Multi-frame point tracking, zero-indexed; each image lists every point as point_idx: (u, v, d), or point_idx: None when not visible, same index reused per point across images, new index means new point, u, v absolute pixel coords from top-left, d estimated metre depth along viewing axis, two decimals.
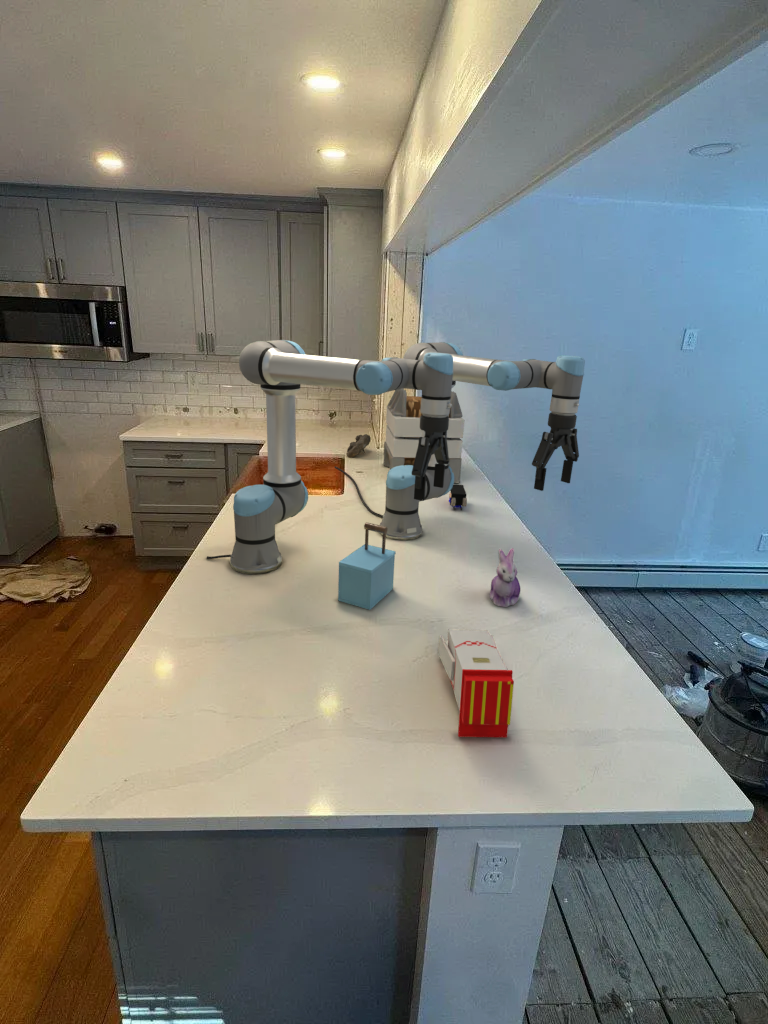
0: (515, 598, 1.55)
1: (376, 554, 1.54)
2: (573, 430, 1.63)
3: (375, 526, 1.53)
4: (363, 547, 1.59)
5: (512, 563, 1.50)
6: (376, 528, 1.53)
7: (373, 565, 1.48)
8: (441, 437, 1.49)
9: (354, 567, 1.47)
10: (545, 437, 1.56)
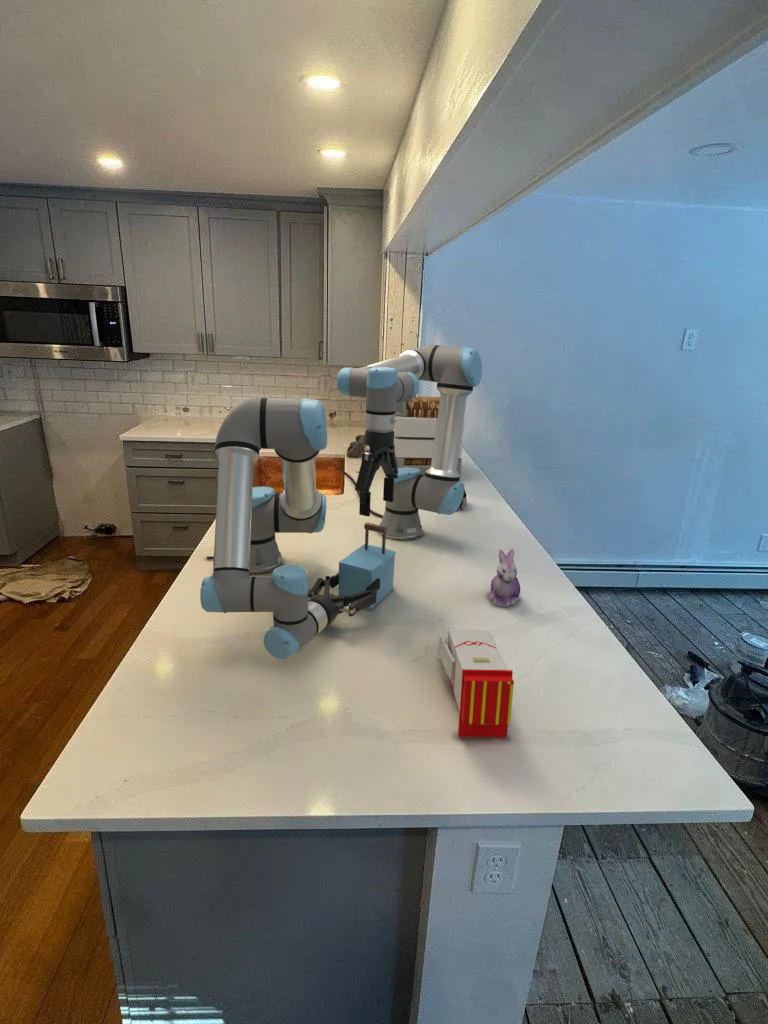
0: (515, 598, 1.55)
1: (376, 554, 1.54)
2: (391, 446, 1.51)
3: (375, 526, 1.53)
4: (363, 547, 1.59)
5: (512, 563, 1.50)
6: (376, 528, 1.53)
7: (373, 565, 1.48)
8: None
9: (354, 567, 1.47)
10: (365, 458, 1.41)
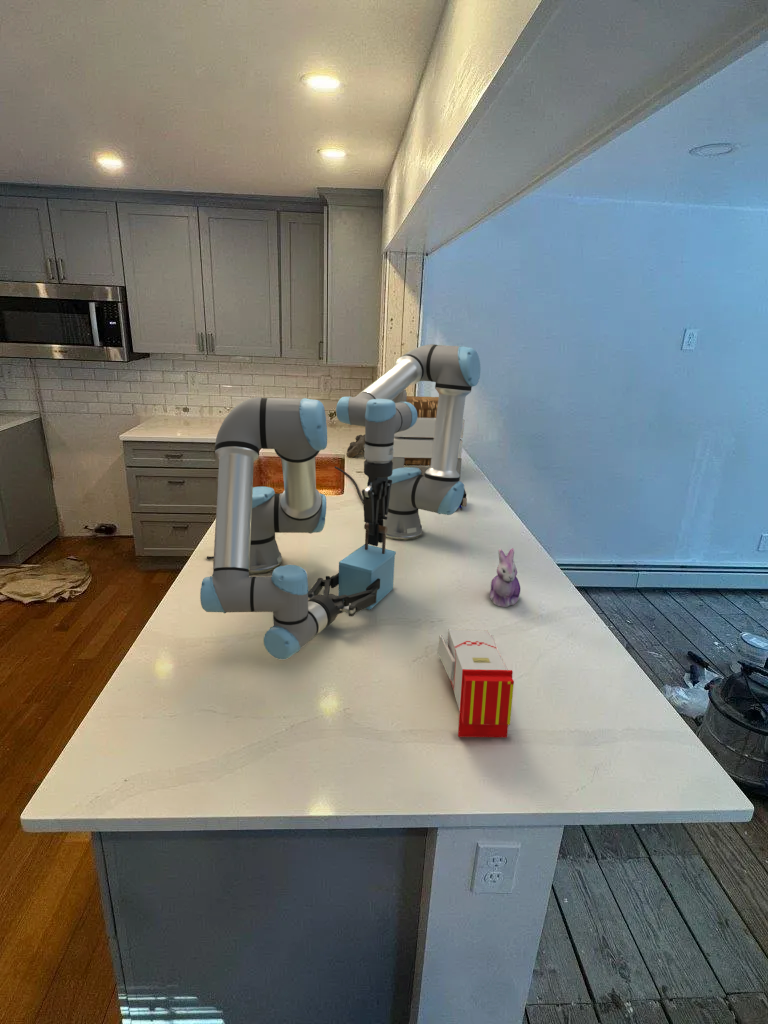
0: (515, 598, 1.55)
1: (376, 554, 1.54)
2: (389, 480, 1.54)
3: None
4: (363, 547, 1.59)
5: (512, 563, 1.50)
6: None
7: (373, 565, 1.48)
8: None
9: (354, 567, 1.47)
10: (366, 496, 1.45)
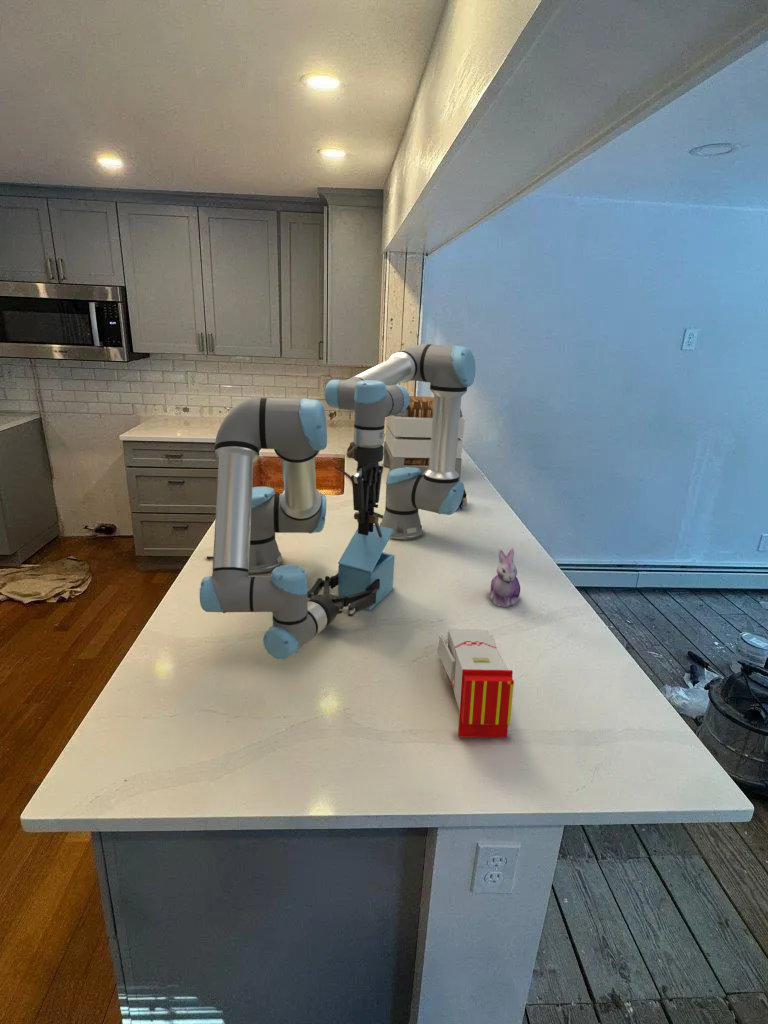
0: (515, 598, 1.55)
1: (373, 539, 1.51)
2: (379, 467, 1.47)
3: None
4: None
5: (512, 563, 1.50)
6: None
7: (371, 562, 1.46)
8: None
9: (354, 567, 1.47)
10: (355, 482, 1.39)
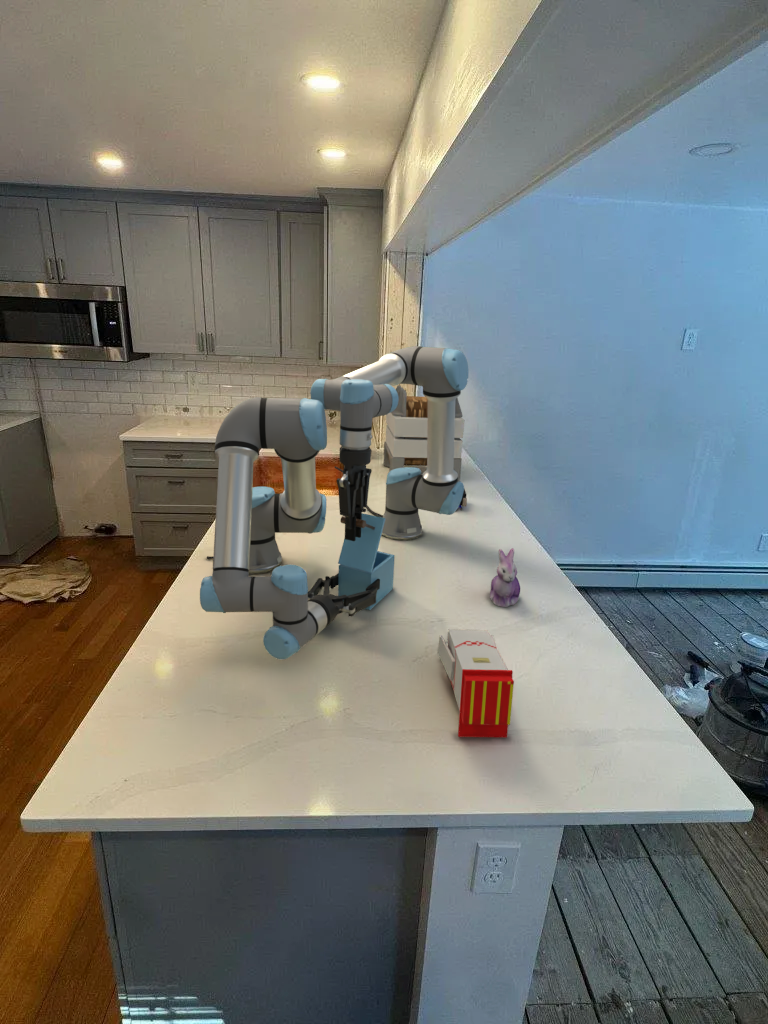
0: (515, 598, 1.55)
1: (367, 533, 1.47)
2: (367, 469, 1.41)
3: None
4: None
5: (512, 563, 1.50)
6: None
7: (369, 561, 1.45)
8: None
9: (354, 567, 1.47)
10: (341, 485, 1.33)
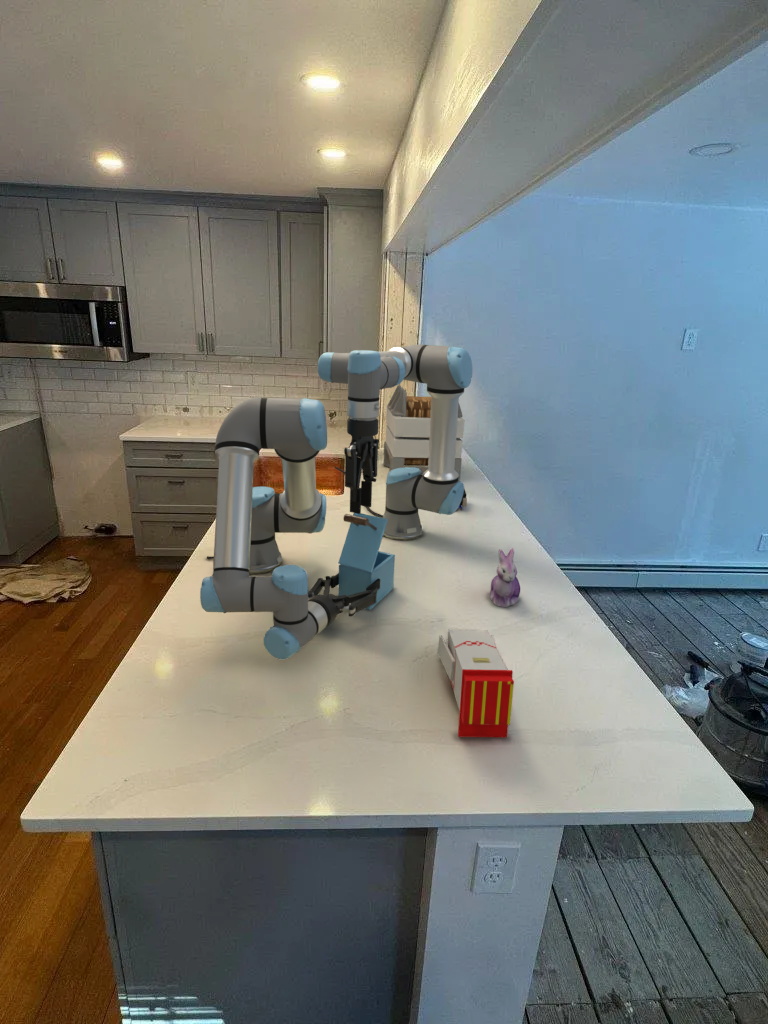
0: (515, 598, 1.55)
1: (369, 533, 1.48)
2: (375, 440, 1.42)
3: (354, 521, 1.42)
4: None
5: (512, 563, 1.50)
6: (357, 523, 1.42)
7: (370, 560, 1.46)
8: None
9: (354, 567, 1.47)
10: (348, 454, 1.33)
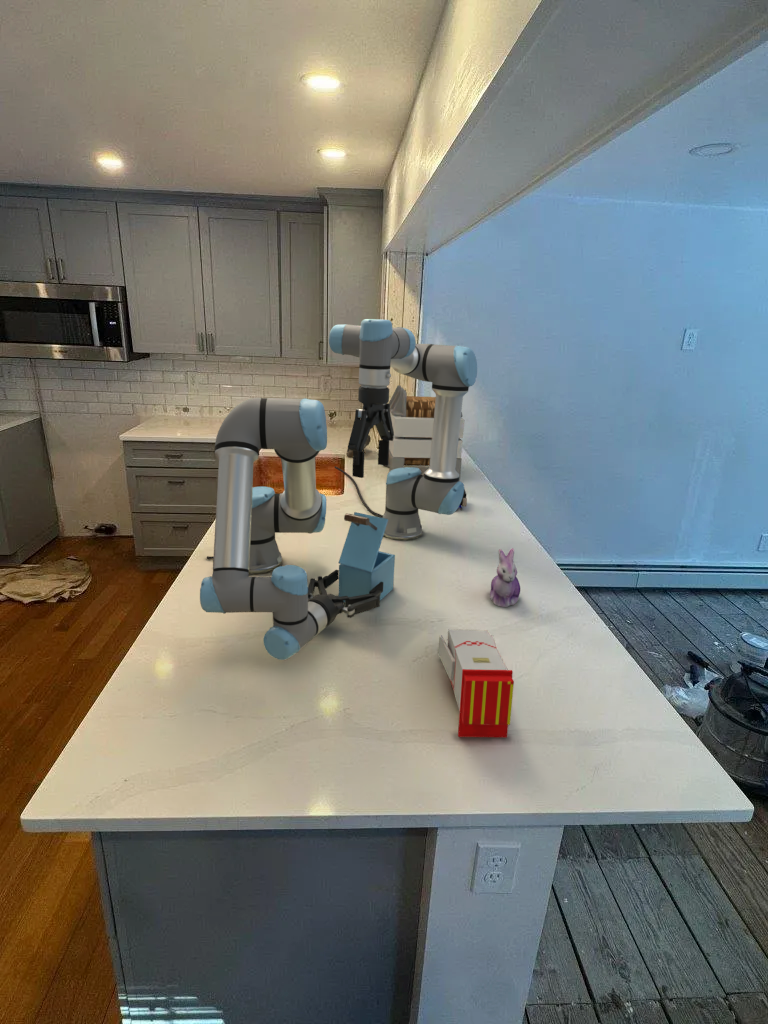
0: (515, 598, 1.55)
1: (369, 533, 1.48)
2: (386, 405, 1.44)
3: (355, 521, 1.42)
4: None
5: (512, 563, 1.50)
6: (357, 522, 1.42)
7: (370, 560, 1.46)
8: None
9: (354, 567, 1.47)
10: (359, 415, 1.34)
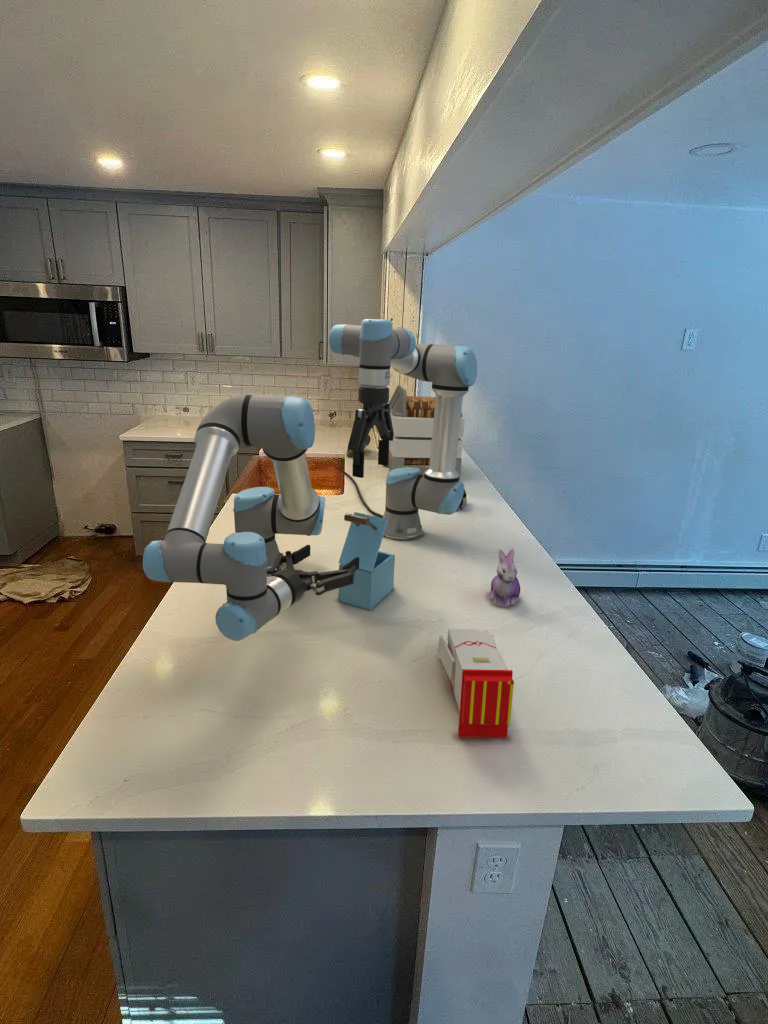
0: (515, 598, 1.55)
1: (369, 533, 1.48)
2: (386, 405, 1.44)
3: (355, 521, 1.42)
4: None
5: (512, 563, 1.50)
6: (357, 522, 1.42)
7: (370, 560, 1.46)
8: None
9: None
10: (359, 415, 1.34)
